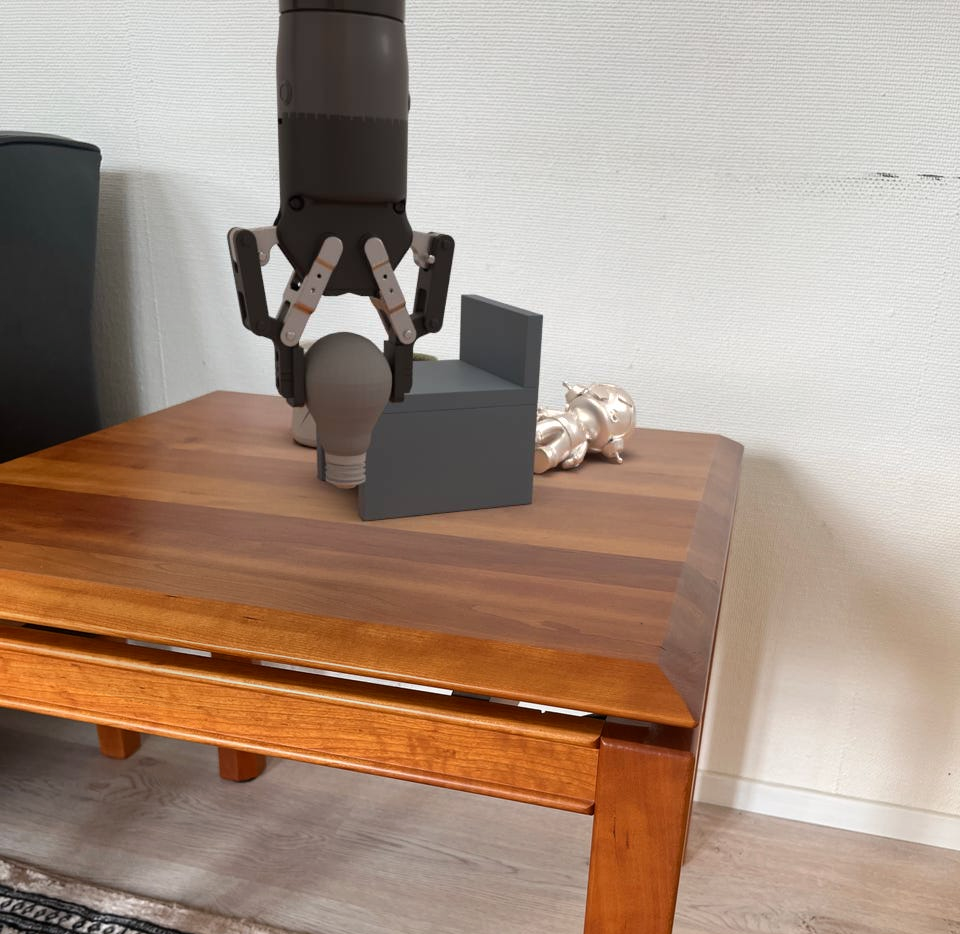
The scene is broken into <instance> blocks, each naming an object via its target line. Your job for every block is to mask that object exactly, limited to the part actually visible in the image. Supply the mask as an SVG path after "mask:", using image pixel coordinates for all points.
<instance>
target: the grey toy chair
mask: <svg viewBox="0 0 960 934" xmlns="http://www.w3.org/2000/svg"><path fill="white" fill-rule="evenodd" d="M459 320H460V321H459V322H460V324H459V353H458V354H459V355H458V357H459V358H458V359H438V360H432V361H413V376H412V377H413V384H412V388H411V390H410V393H404V401H403V402H402V403H391V402H390V401H388V402H387V404H386V406H385V408H384V410H383V412H382V413H381V415H380V416H379V418H378V420H377V422H376V424H375V426H374V428H373V430H372V433H371V440H370V445H369V447H368V449H367V451H366V460H365V462H364V463H365V464H366V465H365V466H364V467H363V468H364V469H365V470H366V471H365V472H364V473H363V474H364V475H365V482H363V483H361V484H358V485H357V486H358V487H357V493H358V498H357V499H358V517H359V518H360V519H361V520H362V521H363V522H367V521H377V520H386V519H395V518H405V517H415V516H425V515H436V514H444V513H453V512H462V511H472V510H473V511H474V510H482V509H492V508H499V507H500V508H501V507H502V508H503V507H510V506H521V505H522V506H523V505H529V504H530V505H531V504H532V502H533V489H534V488H533V487H534V473H535V472H534V457H535V449H536V446H535V440H536V424H537V409H538V408H539V404H538V403H539V389H540V388H539V387H540V375H541V359H542V342H543V328H544V327H543V325H544V314H542V313H537V312H534V311H531V310H528V309H526V308H525V309H524V308H521V307H518V306H514V305H512V304H509V303H506V302H505V303H504V302H501V301H498V300H496V299H491V298H488V297H485V296H482V295H479V294H473V293H472V294H470V293H469V294H461V295H460V317H459ZM316 442H317V447H316V469H317V472H316V473H317V478H318V479H319V480H320V481H322V482H325V481H326V476H327V475H326V470H327V469H326V468H325V466H326V464H327V463H326V462H325V450H324V448H323V447H322V445H321V442H320V436H319V429H318V427H317V425H316Z"/></svg>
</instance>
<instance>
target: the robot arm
mask: <svg viewBox="0 0 960 934" xmlns="http://www.w3.org/2000/svg"><path fill="white" fill-rule="evenodd" d="M406 2H407V1H406V0H278V14H280V15H279V16H278V34H277V44H276V56H275V83H276V84H275V85H276V113H277V114H276V117H277V118H276V119H277V146H278V147H277V150H278V151H277V152H278V181H279V183H278V184H279V185H278V186H279V209H278V212H277V215H276V217H275V219H274V221H273V223H272V225H268V226H267V225H266V226H259V227H252V228H244V227H241V226H235V227H234V226H233V227H231V228H230V229H229V230H228V231H227V234H226V241H227V246H228V250H229V251H228V252H229V258H230V263H231V268H232V275H233V280H234V286H235V291H236V298H237V301H238V307H239V312H240V319H241V323H242V325H243V327H244V328H245V329H246V330H248V331H250V332H251V333H252V334H253V335H255V336H257V337H263V338H265V339H268V340H271V342H272V344H273V348H274V349H273V350H274V374H275V375H274V376H275V379H274V380H275V388H276V390H277V393H278V395H280V396H281V397H282V398H283V399H285V402H286V403H287V405H288V406H290V407H291V408H292V409H293V408H294V407H304V405H305V383H304V348H303V347H301V346H300V345H299V341H301V338H302V335H303V333H304V330H305V329H306V327H307V324H308V321H309V320H310V317H311V316H312V315H313V314H314V313H315V311H316V309H317V307H318V305H319V303H320V300H321V298H322V296H323V297H340V296H343V295H346V294H352V295H355V296H358V297H369V301H370V303H371V304H372V306H373V307H374V308H375V310H376V312H377V314H378V316H379V318H380V321H381V323H382V325H383V327H384V330H385V332H386V334H387V336H388V338H387V339H384V340H383V352H384V356H385V358H386V359H387V362H388V364H389V366H390V369H391V373H392V388H391V393H390V397H389V400H388V401H390V402H391V403H402V402H403V401H404V393H410V390H411V388H412V384H413V377H412V376H413V353H414V347H415V343H416V342H417V340H418V339H420V338H422V337H425V336H427V335H429V334H437V333H439V332H440V331H441V330H442V328H443V326H444V318H445V313H446V305H447V298H448V293H449V286H450V282H451V281H450V280H451V274H452V268H453V261H454V256H455V255H454V254H455V247H456V242H455V239H454V237H452V235H449V234H446V233H441V232H436V231H428V232H422V231H416V230H413V227H412V225H411V223H410V221H409V218H408V215H407V200H408V159H409V158H408V155H409V154H408V153H409V115H410V114H409V113H410V111H411V95H410V67H409V57H408V48H407V47H408V46H407V45H408V44H407V34H406V31H407V30H406V24H405V23H406V9H407V8H406V7H407V4H406ZM274 246H277V247H278V249H279V250H280V251H281V253H282V254H283V256H284V257H285V259H286V260H287V262H288V263H289V264H290V266H291V267H292V269H293V270H292V272H291V275H290V277H289V279H288V281H287V284H286V286H285V288H284V290H283V293H282V300H281V304H280V306H279V308H278V311H277V313H276V315H275V317H273V316H270V314H269V308H268V302H267V301H268V300H267V296H266V295H267V294H266V290H265V283H264V278H263V270H262V267H265V266H267V265H268V264H269V262H270V259H271V250H272V249H273V247H274ZM410 249H411V251H412V258H413V259H412V260H413V262H414V264H415V266H417V267H418V273H417V279H416V287H415V293H414V294H415V295H414V300H413V308H412V313H411V314H410V313H409V311H408V309H407V302H406V298H405V296H404V293H403V292H402V289H401V287H400V284H399V281H398V279H397V276H396V274H395V271H396V270H397V268H398V266H399V265H400V263H401V262H402V260H403V259H404V258H405V255H406V254H407V253H408V251H410Z"/></svg>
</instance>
